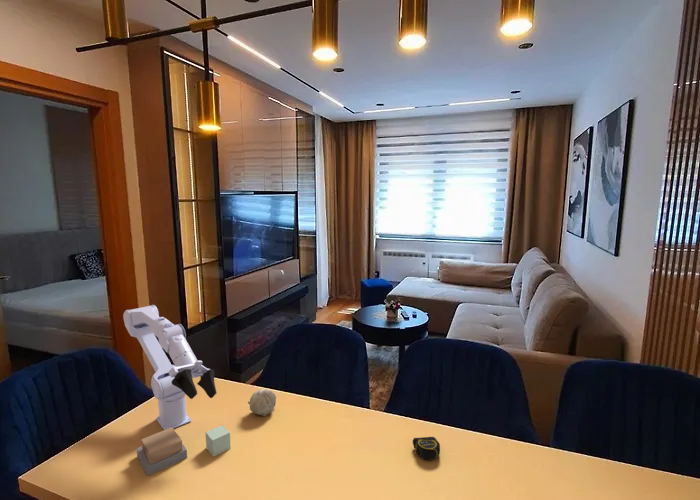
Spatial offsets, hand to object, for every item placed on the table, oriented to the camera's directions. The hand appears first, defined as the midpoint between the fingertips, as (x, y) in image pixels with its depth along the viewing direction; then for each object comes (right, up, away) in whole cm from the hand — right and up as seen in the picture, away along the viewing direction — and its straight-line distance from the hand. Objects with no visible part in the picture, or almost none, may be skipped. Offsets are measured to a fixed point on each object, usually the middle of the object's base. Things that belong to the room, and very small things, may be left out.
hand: (204, 395), depth 102 cm
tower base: (-12, -18, +1) cm, 21 cm away
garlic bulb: (+11, -14, +22) cm, 28 cm away
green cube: (+2, -17, +4) cm, 18 cm away
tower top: (-12, -15, 0) cm, 19 cm away
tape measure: (+62, -17, +3) cm, 64 cm away
